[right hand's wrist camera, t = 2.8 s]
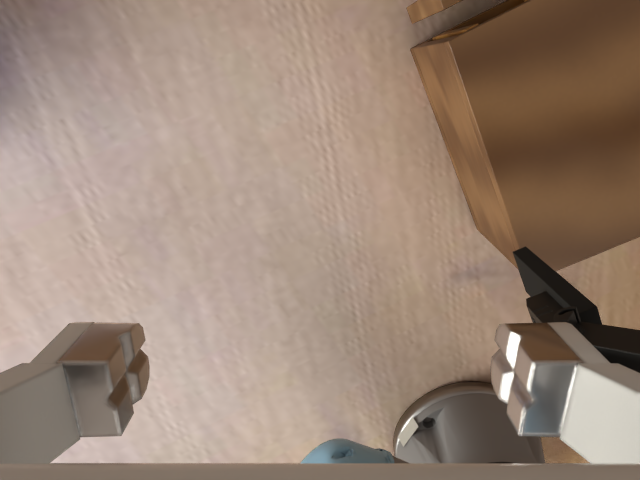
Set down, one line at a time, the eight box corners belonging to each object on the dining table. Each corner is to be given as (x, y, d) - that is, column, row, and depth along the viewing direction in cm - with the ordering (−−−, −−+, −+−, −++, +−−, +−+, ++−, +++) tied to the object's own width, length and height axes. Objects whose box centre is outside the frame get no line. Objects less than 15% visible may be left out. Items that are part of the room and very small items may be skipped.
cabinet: (409, 49, 35) (448, 41, 25) (538, -16, 34) (632, -51, 24) (477, 229, 41) (530, 281, 31) (590, 180, 39) (684, 218, 29)
